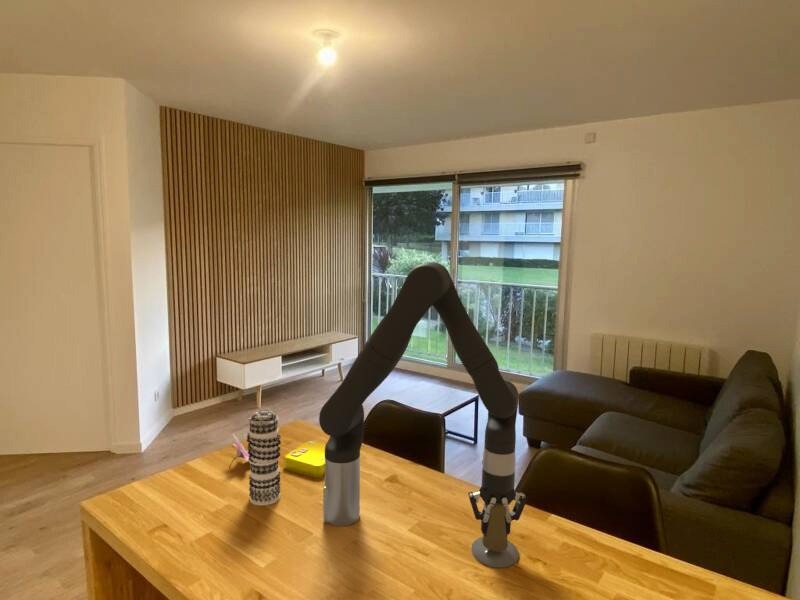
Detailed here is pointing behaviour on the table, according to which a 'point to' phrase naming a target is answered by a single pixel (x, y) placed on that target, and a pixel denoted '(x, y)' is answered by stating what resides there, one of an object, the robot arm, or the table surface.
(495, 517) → the olive game pawn
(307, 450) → the element tile
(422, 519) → the table surface
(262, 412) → the decorative candle
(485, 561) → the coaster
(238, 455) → the lily
